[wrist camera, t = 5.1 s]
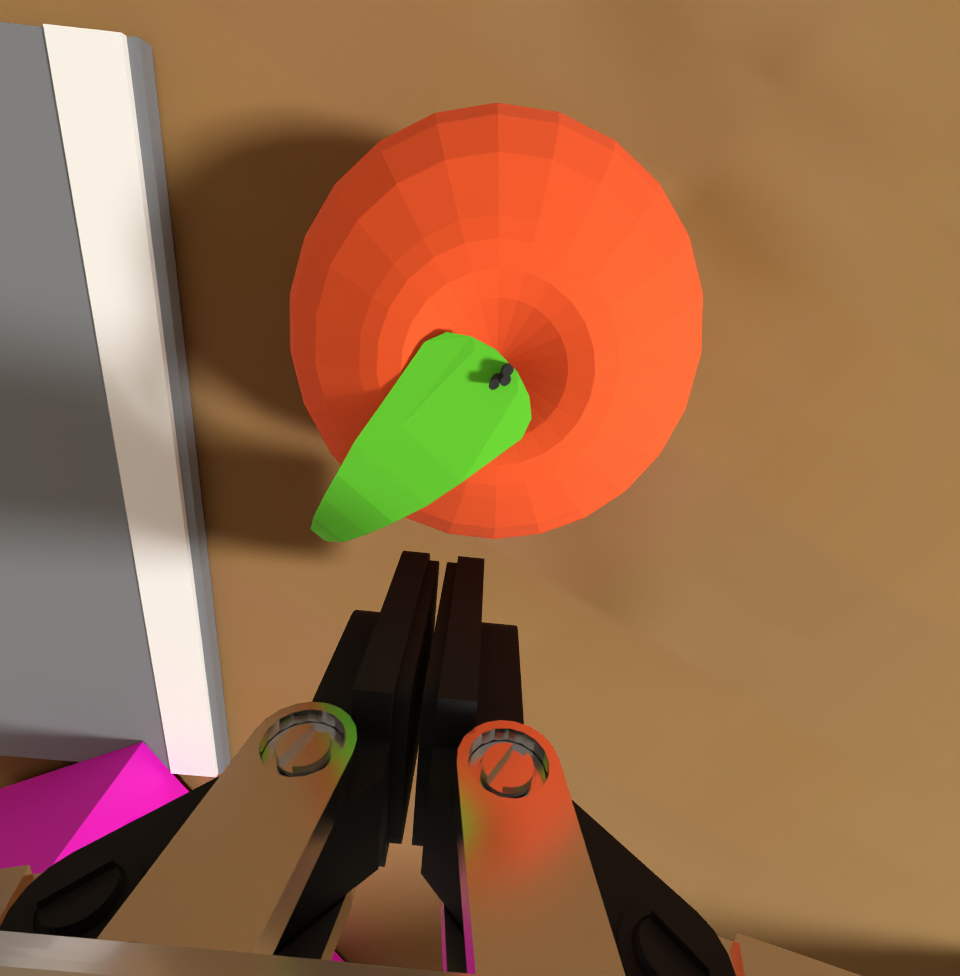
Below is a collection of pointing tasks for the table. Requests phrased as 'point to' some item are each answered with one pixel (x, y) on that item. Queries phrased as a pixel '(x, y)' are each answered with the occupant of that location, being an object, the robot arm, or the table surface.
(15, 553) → the mat
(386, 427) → the clementine
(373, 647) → the robot arm
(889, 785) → the table surface
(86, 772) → the toy block
